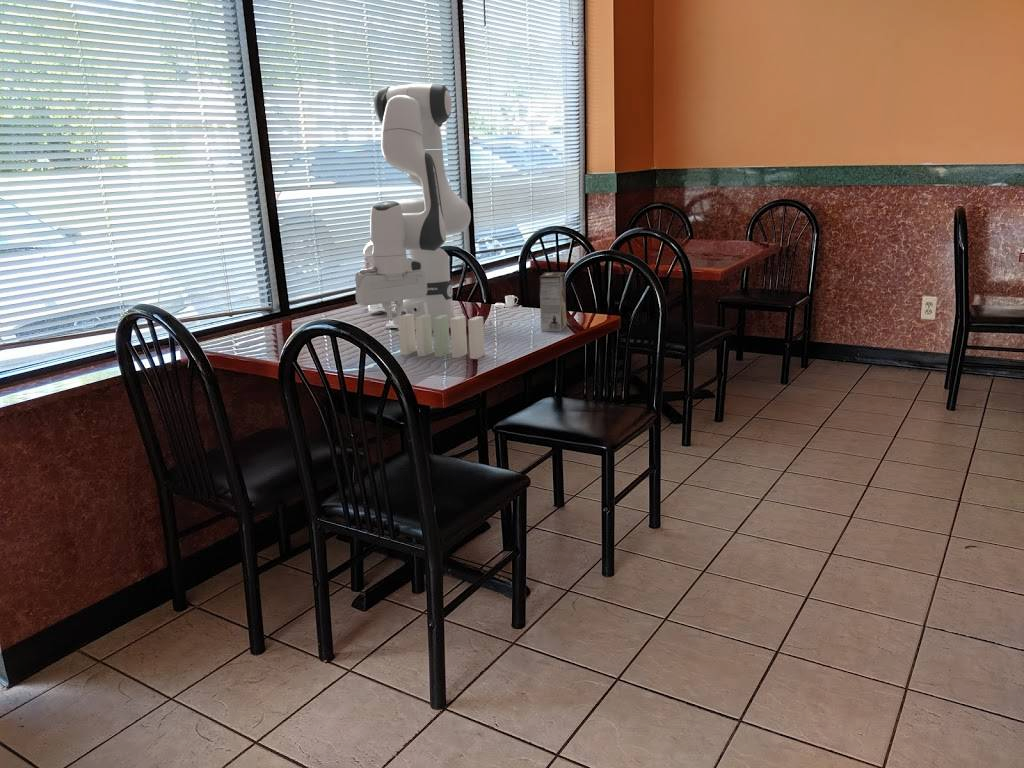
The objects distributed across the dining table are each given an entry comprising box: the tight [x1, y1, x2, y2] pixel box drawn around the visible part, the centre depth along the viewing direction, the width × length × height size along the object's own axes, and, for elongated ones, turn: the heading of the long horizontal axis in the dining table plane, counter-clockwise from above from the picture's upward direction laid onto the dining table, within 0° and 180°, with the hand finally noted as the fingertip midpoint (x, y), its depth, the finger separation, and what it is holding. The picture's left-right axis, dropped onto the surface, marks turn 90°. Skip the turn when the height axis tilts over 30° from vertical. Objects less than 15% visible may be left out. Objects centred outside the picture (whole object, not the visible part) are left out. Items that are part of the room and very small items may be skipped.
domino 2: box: [415, 314, 434, 357], centre depth 217 cm, size 2×5×10 cm, turn 159°
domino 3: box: [432, 315, 451, 358], centre depth 215 cm, size 2×5×10 cm, turn 159°
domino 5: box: [467, 315, 486, 360], centre depth 211 cm, size 2×5×10 cm, turn 159°
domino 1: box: [398, 314, 417, 356], centre depth 219 cm, size 2×5×10 cm, turn 159°
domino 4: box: [450, 315, 468, 359], centre depth 213 cm, size 2×5×10 cm, turn 159°
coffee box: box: [538, 271, 567, 332], centre depth 242 cm, size 9×6×16 cm
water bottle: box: [362, 236, 386, 313], centre depth 281 cm, size 7×7×25 cm
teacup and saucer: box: [494, 294, 522, 310], centre depth 281 cm, size 9×8×4 cm
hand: (393, 318), depth 219 cm, fingers closed
